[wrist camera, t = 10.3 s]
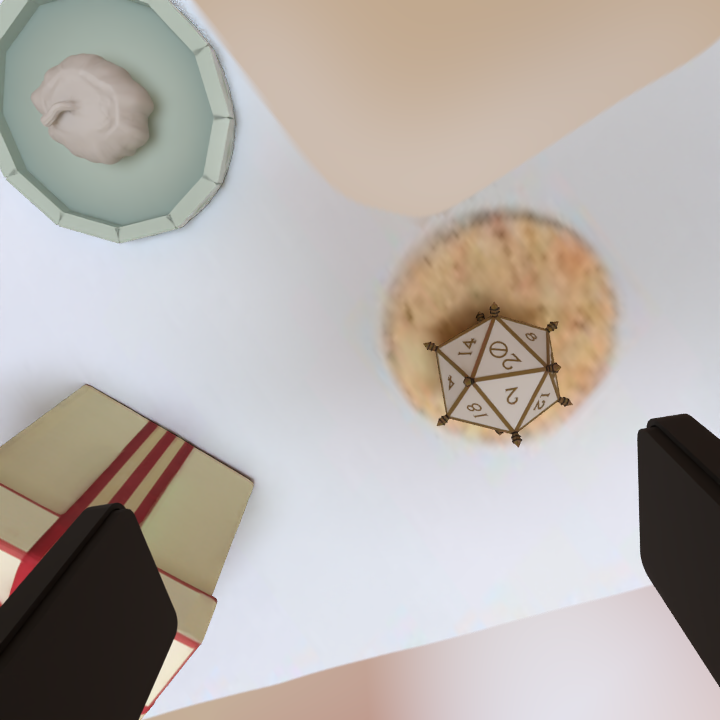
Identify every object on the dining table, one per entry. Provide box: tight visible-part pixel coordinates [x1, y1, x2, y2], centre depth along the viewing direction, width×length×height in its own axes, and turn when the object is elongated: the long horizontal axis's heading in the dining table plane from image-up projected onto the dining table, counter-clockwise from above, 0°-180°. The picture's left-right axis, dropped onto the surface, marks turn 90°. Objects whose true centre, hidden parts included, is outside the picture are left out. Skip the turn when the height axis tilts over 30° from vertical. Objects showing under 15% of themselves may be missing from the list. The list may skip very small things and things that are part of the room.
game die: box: [424, 302, 573, 447], centre depth 33 cm, size 9×8×10 cm
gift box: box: [0, 385, 254, 720], centre depth 33 cm, size 17×18×17 cm
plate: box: [0, 0, 235, 243], centre depth 30 cm, size 14×14×2 cm
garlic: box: [31, 53, 154, 165], centre depth 28 cm, size 6×5×5 cm
